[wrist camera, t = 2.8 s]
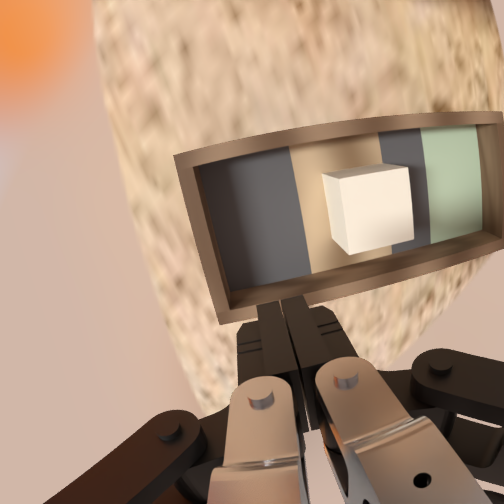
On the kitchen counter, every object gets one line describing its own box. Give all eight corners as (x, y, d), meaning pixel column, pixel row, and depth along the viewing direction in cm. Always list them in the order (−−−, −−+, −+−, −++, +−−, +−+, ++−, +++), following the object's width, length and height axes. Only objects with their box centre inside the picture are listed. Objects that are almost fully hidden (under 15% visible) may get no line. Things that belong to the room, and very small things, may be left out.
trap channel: (221, 300, 27) (219, 324, 23) (183, 153, 23) (173, 155, 19) (482, 234, 26) (508, 247, 22) (474, 112, 22) (502, 111, 19)
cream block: (332, 238, 24) (349, 255, 21) (321, 173, 23) (338, 179, 19) (389, 225, 24) (414, 239, 21) (382, 162, 23) (407, 167, 19)
